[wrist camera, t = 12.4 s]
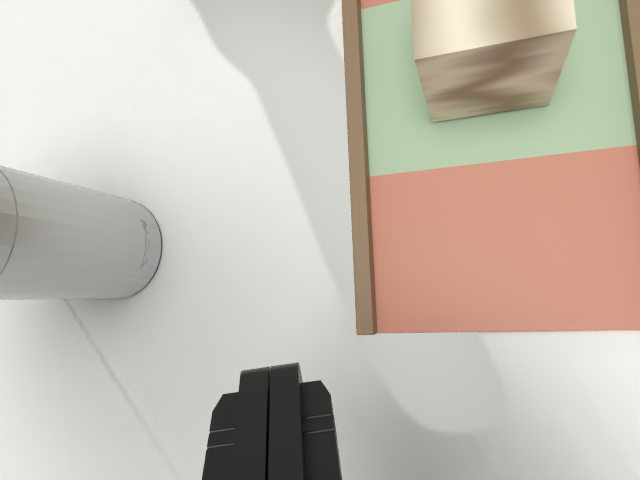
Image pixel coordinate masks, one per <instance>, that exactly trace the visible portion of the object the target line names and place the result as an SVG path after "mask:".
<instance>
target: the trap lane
mask: <svg viewBox="0 0 640 480" xmlns="http://www.w3.org/2000/svg"><path fill="white" fill-rule="evenodd" d="M574 7H575V16H576V25H577V30H576V33H575V35H574V38H573V41H572V43H571V46H570V49H569V52H568V54H567V57H566V60H565V63H564V65H563V68H562V71H561V74H560V76H559V79H558V82H557V84H556V87H555V90H554V93H553V95H552V98H551V101H550V104H549V105H546V106H539V107H533V108H526V109H519V110H512V111H506V112H499V113H492V114H486V115H479V116H472V117H465V118H459V119H452V120H445V121H438V122H431V118H430V115H429V111H428V107H427V104H426V100H425V97H424V93H423V89H422V86H421V82H420V78H419V75H418V71H417V68H416V64H415V60H414V47H413V31H412V16H411V1H410V0H342V18H343V40H344V62H345V83H346V106H347V127H348V150H349V172H350V195H351V216H352V240H353V261H354V284H355V306H356V328H357V335H374V334H376V333H428V332H505V331H581V330H640V0H574Z"/></svg>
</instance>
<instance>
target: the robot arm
mask: <svg viewBox="0 0 640 480" xmlns="http://www.w3.org/2000/svg"><path fill="white" fill-rule="evenodd" d="M160 256H161V235H160V231H159V228H158V225H157V223H156V221H155V219H154V217H153V216H152V214H151V213H150V212H149V211H148V210H147V209H146V208H145V207H143V206H142V205H141V204H138V203H136V202H133V201H129V200H126V199H122V198H118V197H115V196H111V195H107V194H104V193H101V192H97V191H93V190H89V189H86V188H82V187H78V186H75V185H71V184H67V183H63V182H60V181H56V180H52V179H48V178H45V177H41V176H37V175H34V174H30V173H26V172H22V171H19V170H15V169H11V168H7V167H4V166H0V300H20V299H119V298H126V297H129V296H132V295H134V294H135V293H137V292H139V291H140V290H141V289H142V288H144V287H145V286H146V285H147V284H148V282H149V281H150V280H151V278H152V277H153V275H154V273H155V271H156V269H157V267H158V263H159V260H160ZM202 480H342V475H341V467H340V459H339V451H338V443H337V435H336V428H335V422H334V415H333V408H332V401H331V395H330V393H329V392H328V390H327V389H326V387H325V386H324V385H323V383H322V382H321V380H319V381H312V382H305V383H303V382H302V376H301V371H300V366H299V363H292V364H285V365H278V366H271V369H270V367H264V368H257V369H250V370H243V371H241V375H240V385H239V392H236V393H229V394H223V395H222V397H221V398H220V400H219V402H218V403H217V405H216V407H215V408H214V410H213V412H212V418H211V424H210V434H209V437H208V444H207V450H206V457H205V463H204V470H203V476H202Z"/></svg>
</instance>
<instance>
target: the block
mask: <svg viewBox="0 0 640 480" xmlns="http://www.w3.org/2000/svg"><path fill="white" fill-rule="evenodd" d="M410 1H411V16H412V31H413V47H414V60H415V64H416V68H417V71H418V75H419V78H420V82H421V86H422V89H423V93H424V97H425V100H426V104H427V107H428V111H429V115H430V118H431V122H438V121H445V120H452V119H459V118H465V117H472V116H479V115H486V114H492V113H499V112H506V111H512V110H519V109H526V108H533V107H539V106H546V105H549V104H550V101H551V98H552V95H553V93H554V90H555V87H556V84H557V82H558V79H559V76H560V74H561V71H562V68H563V65H564V63H565V60H566V57H567V54H568V52H569V49H570V46H571V43H572V41H573V38H574V35H575V33H576V30H577V25H576V16H575V7H574V0H410Z"/></svg>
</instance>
